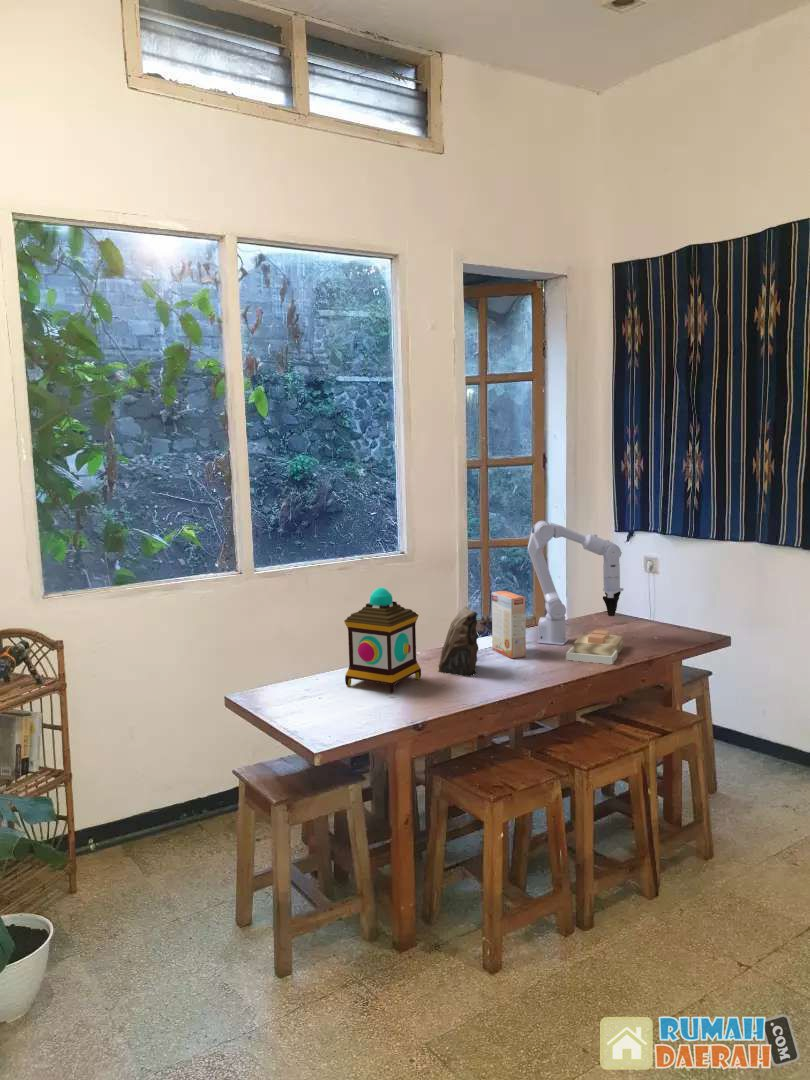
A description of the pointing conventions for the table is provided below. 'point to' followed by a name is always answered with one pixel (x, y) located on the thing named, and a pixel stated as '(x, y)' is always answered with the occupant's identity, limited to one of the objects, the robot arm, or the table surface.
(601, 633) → the tile rear
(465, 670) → the brown rock
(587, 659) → the tray
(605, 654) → the beige square tray
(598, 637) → the tile front
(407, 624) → the decorative lantern
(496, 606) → the cracker box
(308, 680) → the table surface
